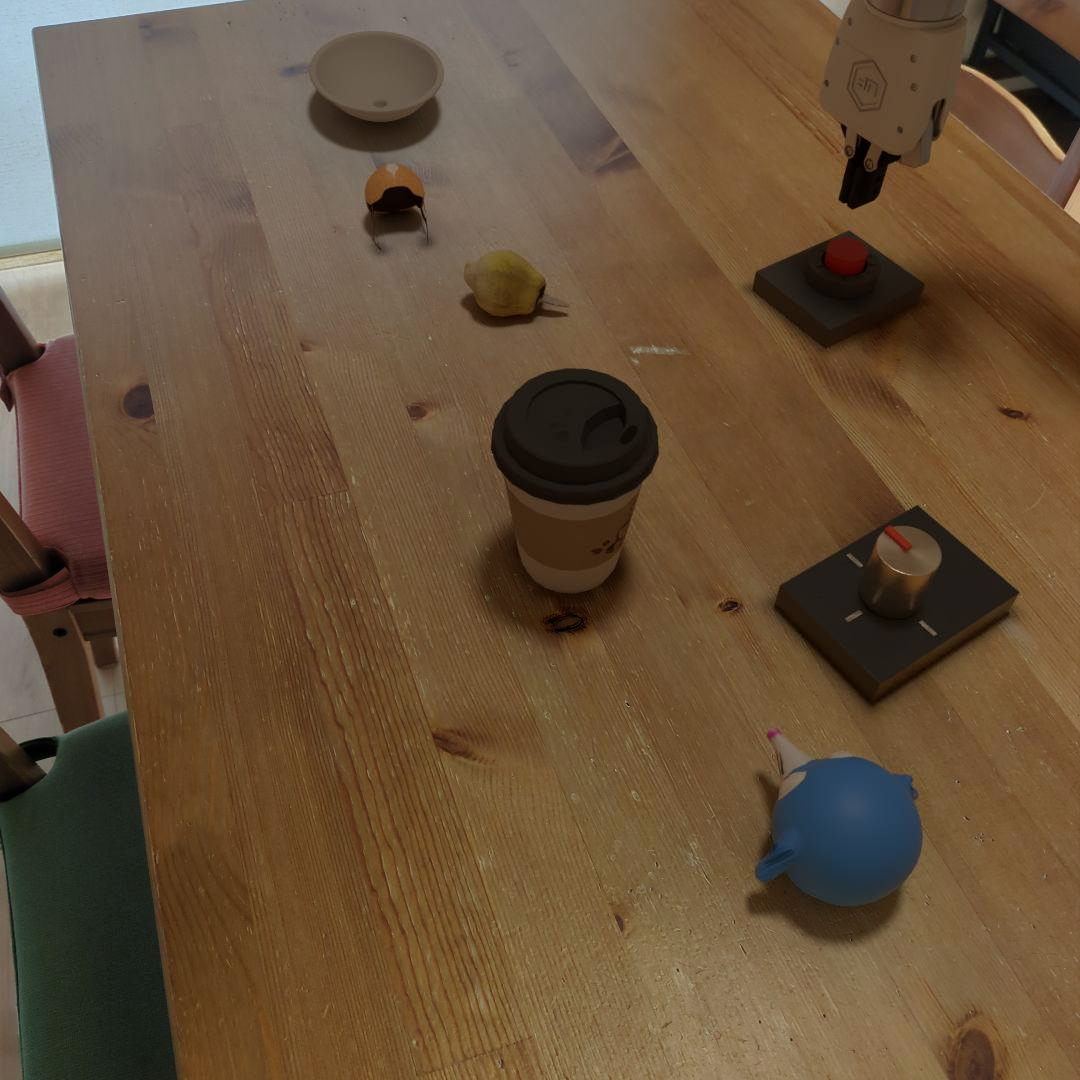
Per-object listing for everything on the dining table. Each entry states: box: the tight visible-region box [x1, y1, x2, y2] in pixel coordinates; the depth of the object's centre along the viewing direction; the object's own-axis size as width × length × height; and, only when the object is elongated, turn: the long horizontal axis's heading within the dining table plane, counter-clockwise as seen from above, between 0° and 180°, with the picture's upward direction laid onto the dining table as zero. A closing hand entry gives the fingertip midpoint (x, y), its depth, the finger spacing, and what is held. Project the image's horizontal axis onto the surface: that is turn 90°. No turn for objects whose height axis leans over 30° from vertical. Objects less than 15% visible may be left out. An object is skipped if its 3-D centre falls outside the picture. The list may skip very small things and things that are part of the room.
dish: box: [308, 30, 445, 123], centre depth 123 cm, size 18×14×5 cm
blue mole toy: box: [754, 727, 924, 907], centre depth 67 cm, size 12×12×8 cm
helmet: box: [364, 163, 429, 250], centre depth 109 cm, size 6×7×8 cm
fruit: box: [463, 249, 571, 318], centre depth 101 cm, size 6×6×10 cm
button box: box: [751, 229, 926, 349], centre depth 103 cm, size 12×10×4 cm
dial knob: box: [859, 525, 942, 619], centre depth 77 cm, size 4×4×5 cm
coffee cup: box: [490, 367, 660, 594], centre depth 79 cm, size 11×11×15 cm
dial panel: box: [774, 504, 1020, 703], centre depth 81 cm, size 14×10×3 cm
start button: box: [824, 237, 868, 276], centre depth 101 cm, size 4×4×2 cm
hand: (857, 200), depth 97 cm, fingers closed
